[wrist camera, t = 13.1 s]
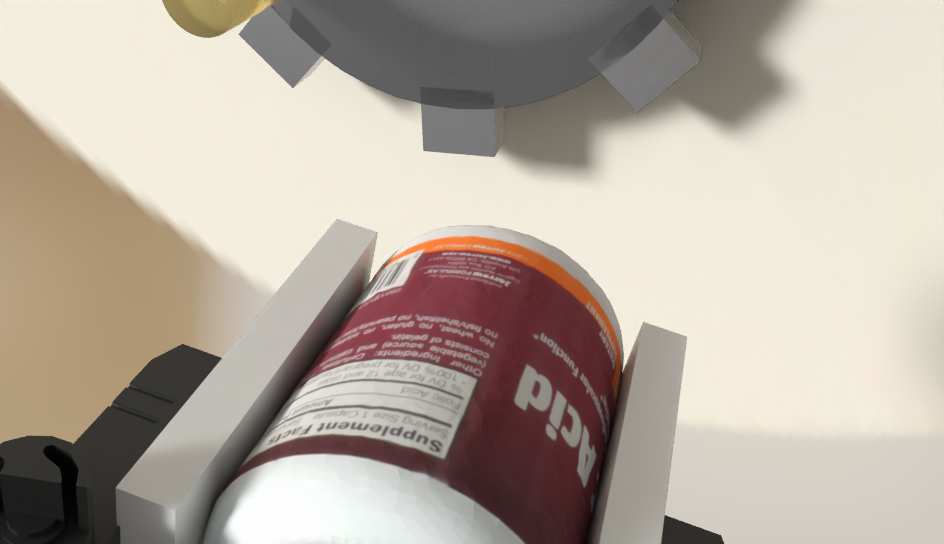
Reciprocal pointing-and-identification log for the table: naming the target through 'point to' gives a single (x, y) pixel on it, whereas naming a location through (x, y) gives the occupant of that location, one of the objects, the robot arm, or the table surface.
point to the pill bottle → (443, 407)
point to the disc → (462, 51)
